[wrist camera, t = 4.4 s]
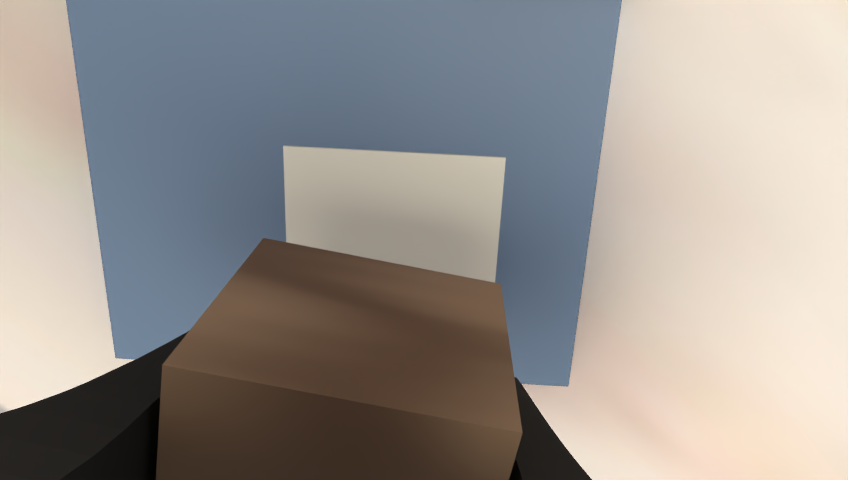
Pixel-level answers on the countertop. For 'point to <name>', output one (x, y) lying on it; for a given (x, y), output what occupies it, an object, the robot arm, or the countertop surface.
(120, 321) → the blueprint board
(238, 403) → the walnut block
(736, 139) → the countertop surface
